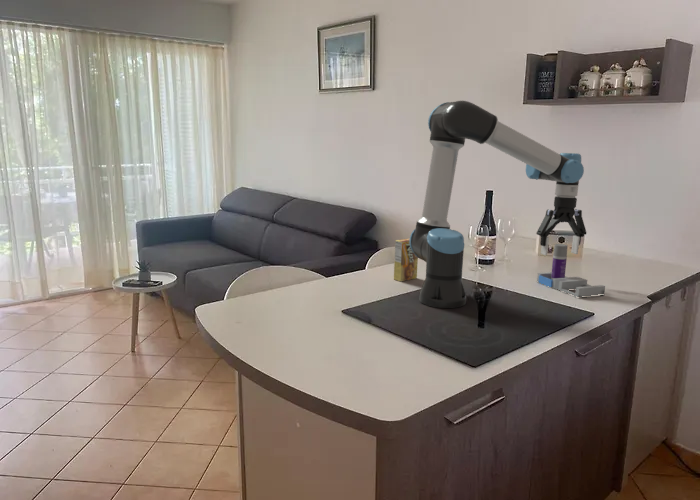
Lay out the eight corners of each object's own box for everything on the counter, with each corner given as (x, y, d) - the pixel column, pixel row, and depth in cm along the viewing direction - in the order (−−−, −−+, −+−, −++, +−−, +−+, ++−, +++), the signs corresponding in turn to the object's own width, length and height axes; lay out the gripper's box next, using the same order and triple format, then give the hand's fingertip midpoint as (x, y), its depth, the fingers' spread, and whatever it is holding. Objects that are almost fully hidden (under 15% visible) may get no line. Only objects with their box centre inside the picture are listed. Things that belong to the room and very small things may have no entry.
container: (561, 286, 196) (565, 246, 193) (548, 284, 199) (552, 245, 196) (565, 284, 199) (569, 244, 196) (552, 282, 202) (556, 243, 199)
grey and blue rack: (576, 298, 181) (577, 288, 181) (535, 282, 202) (536, 273, 201) (604, 295, 185) (605, 286, 184) (561, 280, 205) (561, 271, 205)
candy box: (409, 276, 208) (411, 237, 205) (417, 278, 205) (419, 239, 202) (393, 279, 202) (394, 240, 199) (401, 282, 199) (402, 241, 196)
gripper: (543, 197, 185) (537, 257, 189) (601, 197, 193) (594, 255, 197) (530, 195, 192) (524, 252, 196) (586, 195, 200) (579, 250, 204)
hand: (559, 254), depth 197 cm, fingers open, 13 cm apart
